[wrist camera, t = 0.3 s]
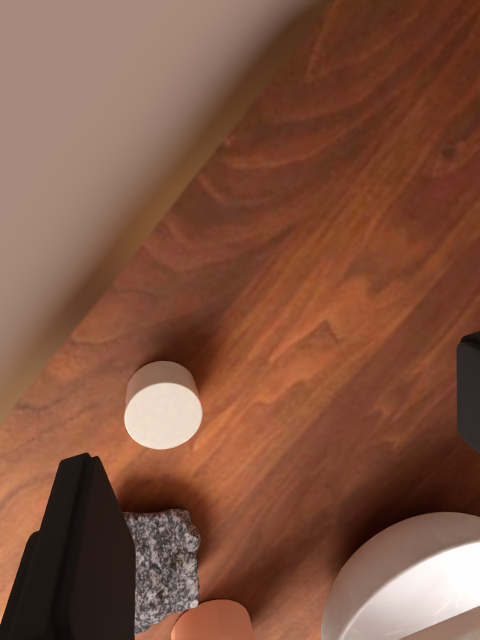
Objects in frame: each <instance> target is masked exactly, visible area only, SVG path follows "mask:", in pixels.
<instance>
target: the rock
mask: <svg viewBox="0 0 480 640" xmlns="http://www.w3.org/2000/svg"><path fill="white" fill-rule="evenodd" d="M123 515H124V518H125V520H126V523H127V525H128V527H129V530H130V532H131V535H132V537H133V540H134V543H135V549H136V591H135V635H136V634H139V633H142V632H145V631H146V630H148V629H149V628H150V627H151V626H152V624H156V623H158V622H160V621H161V620H162V619H164V618H165V617H167V616H168V615H169V614H171V613H174V612H182V611H184V610H186V609H194V608H196V607H197V605H198V601H199V588H200V587H199V579H198V575H197V573H198V572H197V568H198V567H197V559H196V554H197V552H198V549H199V544H200V541H201V537H200V532H198V529H197V528H196V527H195V526H194V525H193V524H192V522H191V515H190V513H189V512H188V511H187V510H182V509H169V510H165V511H163V512H156V513H135V512H124V513H123Z"/></svg>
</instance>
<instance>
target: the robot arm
mask: <svg viewBox="0 0 480 640" xmlns="http://www.w3.org/2000/svg"><path fill="white" fill-rule="evenodd" d="M457 428H458V432H459V434H460V436H461V438H462V439H463V440H464V441H465V442H466V443H467V444H469V445H470V446H471V447H472V448H474V449H475V450H476V451H477V452H479V453H480V331H479V332H476V333H473V334H469V335H466V336H464V337H463V338H462V339H461V341H460V344H458V346H457ZM135 591H136V549H135V543H134V540H133V537H132V535H131V532H130V530H129V527H128V525H127V523H126V520H125V518H124V515H123V513H122V511H121V508H120V506H119V503H118V501H117V498H116V496H115V494H114V491H113V489H112V486H111V484H110V482H109V479H108V477H107V474H106V472H105V469H104V467H103V465H102V462H101V460H100V458H99V457H98V456H95V457H92V458H91V456H90V455H89V454H88V453H83V454H80V455H77V456H73V457H70V458H67V459H64V460H62V461H61V462H60V464H59V467H58V470H57V473H56V477H55V480H54V484H53V487H52V490H51V494H50V497H49V500H48V504H47V507H46V510H45V514H44V517H43V520H42V524H41V527H40V530H39V531H36V532H34V533H33V534H32V535H31V536H30V537H29V539H28V541H27V544H26V547H25V550H24V553H23V556H22V559H21V562H20V565H19V569H18V572H17V575H16V578H15V581H14V584H13V587H12V590H11V593H10V596H9V599H8V602H7V606H6V609H5V612H4V615H3V618H2V621H1V624H0V640H135ZM399 640H480V606H478V607H475V608H473V609H470V610H468V611H466V612H463V613H461V614H458V615H456V616H454V617H451V618H449V619H446V620H444V621H442V622H439V623H437V624H434V625H432V626H430V627H427V628H425V629H423V630H420V631H418V632H415V633H413V634H411V635H408V636H406V637H403V638H401V639H399Z"/></svg>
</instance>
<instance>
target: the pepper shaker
mask: <svg viewBox="0 0 480 640" xmlns="http://www.w3.org/2000/svg"><path fill="white" fill-rule="evenodd" d="M171 640H255V638H254V634H253V630H252V626H251V621H250V617H249V614H248V612H247V610H246V608H245V607H243V606H242V605H241V604H239V603H238V602H234V601H231V600H212V601H208V602H203V603H201V604H199V605H197V607H196V608H194V609H190V610H188V611H187V612H186V613H184V614H183V615H182V616H181V617H180V618H179V619H178V621H177V622H176V623H175V624H174V627H173V630H172V633H171Z"/></svg>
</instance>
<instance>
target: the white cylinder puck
mask: <svg viewBox="0 0 480 640" xmlns="http://www.w3.org/2000/svg"><path fill="white" fill-rule="evenodd" d="M124 420H125V426H126V429H127V431H128V433H129V434H130V436H131V437H132V438H133V439H134V440H135V441H136V442H138V443H139V444H141V445H143V446H145V447H148V448H153V449H168V448H173V447H176V446H178V445H180V444H183V443H184V442H186V441H187V440H188V439H190V438H191V437H192V436H193V435H194V434H195V432H196V431H197V429H198V428H199V426H200V423H201V420H202V406H201V402H200V398H199V394H198V390H197V386H196V383H195V380H194V378H193V376H192V374H191V373H190V372H189V371H188V370H187V369H186V368H185V367H183V366H181V365H180V364H177V363H174V362H170V361H157V362H152V363H149V364H147V365H145V366H143V367H142V368H140V369H139V370H138V371H136V372H135V373H134V375H133V376H132V377H131V379H130V381H129V383H128V386H127V390H126V403H125V418H124Z"/></svg>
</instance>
